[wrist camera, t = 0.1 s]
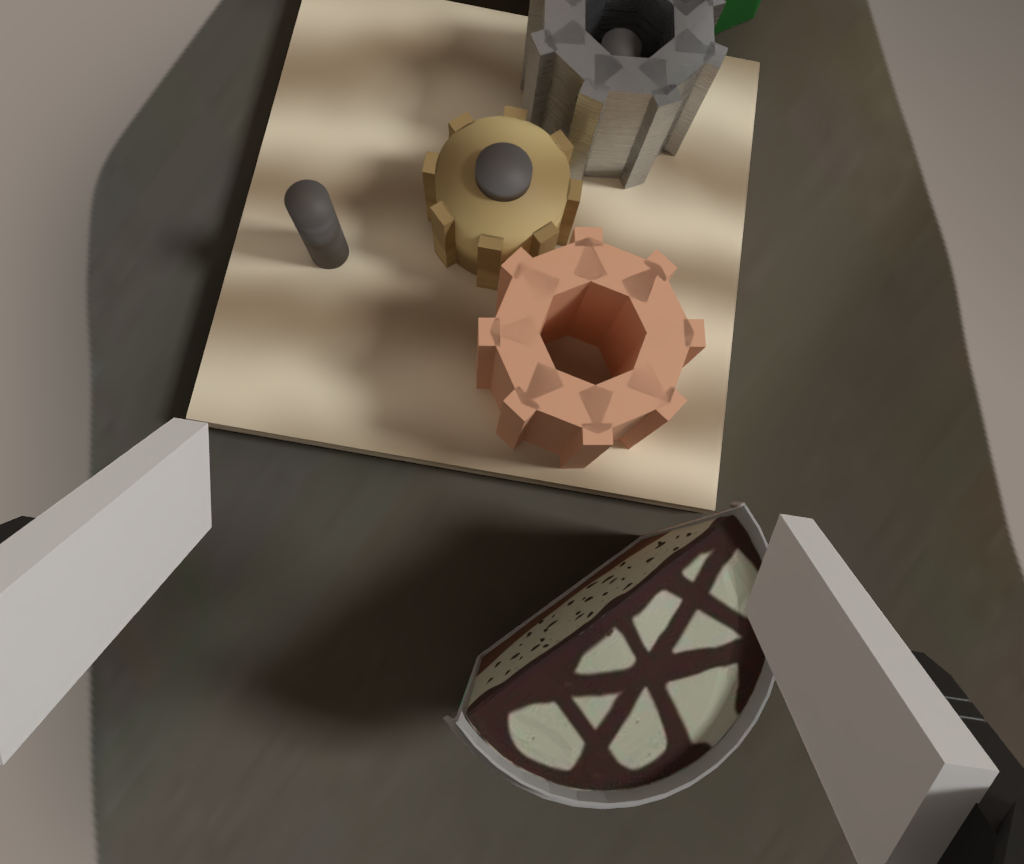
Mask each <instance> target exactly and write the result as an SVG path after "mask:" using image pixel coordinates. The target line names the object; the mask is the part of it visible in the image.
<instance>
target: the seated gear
mask: <svg viewBox="0 0 1024 864" xmlns="http://www.w3.org/2000/svg"><path fill="white" fill-rule="evenodd" d="M725 4H726V1H725V0H530V5H529V14H528V23H527V32H526V41H525V50H524V59H523V68H522V77H521V86H520V89H522V90H524V92H523V100H522V108H521V109H526V110H527V118H526V121H528V122H531V123H533V124H535V125H536V126H538V127H540V128H541V129H543V130H544V131H546V132H547V133H548V134H549V135H551V134H553V133H555V132H556V131H558V130H561V131H562V132H563V133H564V135H565V136H566V137H567V138H568V140H569V141H570V142H571V144H572V145H573V146H574V148H573V152H572V155H571V159H570V163H569V168H570V174H571V179H576V180H582V179H583V177H600V178H616V179H620V182H621V184H622V186H623V188H624V189H627V188H631V187H634V186H637V185H640V184H643V183H644V182H645V180H646V178H647V176H648V174H649V171H650V169H651V167H652V165H653V163H654V161H655V159H656V157H658V156H659V155H660V154H661V153H662V152H666V153H668V154H670V155H672V156H675V155H676V153H677V151H678V149H679V147H680V145H681V143H682V141H683V139H684V137H685V135H686V134H687V132H688V130H689V128H690V126H691V124H692V122H693V120H694V118H695V116H696V114H697V112H698V110H699V108H700V106H701V104H702V102H703V100H704V98H705V96H706V94H707V92H708V90H709V88H710V86H711V84H712V82H713V80H714V79H715V77H716V75H717V73H718V71H719V69H720V66H721V64H722V62H723V60H724V57H725V55H726V53H727V50H728V48H726V47H724V46H722V45H720V44H717V43H715V39H714V28H715V26H716V24H717V21H718V19H719V17H720V15H721V13H722V11H723V8H724V6H725ZM615 28H625V29H628V30H630V31H632V32H634V33H635V34H636V35H637V36H638V37H639V39H640V41H641V44H642V50H641V53H640V56H639V57H628V56H614V55H611V54H610V53H609V52H608V51H607V50H606V49H605V48H604V47H602V46H601V43H602V39H603V37H604V35H605V34H606V33H607V32H608V31H610V30H612V29H615Z"/></svg>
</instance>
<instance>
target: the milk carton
mask: <svg viewBox="0 0 1024 864" xmlns="http://www.w3.org/2000/svg"><path fill="white" fill-rule="evenodd" d="M725 1H726V4H725V6H724V8H723V11H722V13H721V15H720V17H719V19H718V21H717V24H716V26H715V28H714V35H715V34H717V33H719V32H722V31H724V30H726V29H729V28H731V27H733V26H736V25H738V24H740V23H743V22H745V21H747V20H750V19H752V18H754V16H755V13H756V11H757V9H758V7H759V4H760V2H761V0H725Z"/></svg>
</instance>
